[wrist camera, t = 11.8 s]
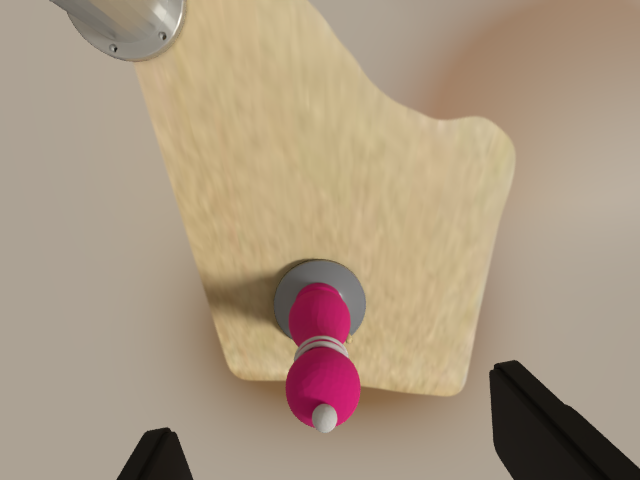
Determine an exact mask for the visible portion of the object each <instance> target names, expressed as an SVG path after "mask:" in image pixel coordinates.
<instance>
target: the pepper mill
mask: <svg viewBox="0 0 640 480" xmlns="http://www.w3.org/2000/svg"><path fill="white" fill-rule="evenodd" d="M350 325H351V321H350V313H349V309H348V307H347V305H346V303H345V302H344V301H343V300H342V298H341V295H340V294H339V292H338V291H337V290H336V289H335V288H334V287H332V286H331V285H328V284H325V283H313V284H309V285H307V286H306V287H304V288H303V289H302V290H301V291H300V292H299V293H298V295H297V297H296V299H295V302H294V304H293V305H292V307H291V310H290V312H289V330H290V333H291V336H292V338H293V340H294V342H295V343H296V345H297V346H298V347H299V348H298V349H297V351H296V353H295V357H294V363H293V365H292V366H291V368H290V370H289V372H288V375H287V379H286V397H287V401H288V404H289V406H290V409H291V411H292V412H293V414H294V415H295V416H296V417H297V418H298V419H299V420H300V421H301V422H303V423H305V424H306V425H308V426H311V427H314V428H316V429H317V430H318V431H320V432H322V433H327V432H330V431H331V430H332V429H334V427H336V426H338V425H340V424H342V423H343V422H345V421H346V420H347V419H348V418H349V417H350V416H351V415H352V413H353V412H354V410H355V409H356V407H357V404H358V401H359V398H360V379H359V375H358V372H357V370H356V368H355V366H354V364H353V363H352V362H351V361H350V359H349V355H348V352H347V350H346V348H345V347H344V345H343V343H344V342H345V340H346V338H347V336H348V334H349V330H350Z"/></svg>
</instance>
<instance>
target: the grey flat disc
mask: <svg viewBox="0 0 640 480" xmlns="http://www.w3.org/2000/svg"><path fill="white" fill-rule="evenodd" d="M313 283H325V284H328V285H331V286H332V287H334V288H335V289H336V290H337V291H338V292H339V294H340V295H341V298H342V300H343V301H344V302H345V303H346V305H347V307H348V309H349V313H350V321H351V325H350V330H349V334H348V336H347V338H346V343H348V344H350V343H351V342H352V338H351V336H352V335H353V334H354V333H355V331H356V330H357V329H358V328H359V326H360V324H361V323H362V320H363V318H364V314H365V309H366V299H365V294H364V291H363V288H362V286H361V284H360V282H359V280H358V279H357V277H356V276H355V275H354V273H353V272H351V271H350V270H349V269H348V268H347V267H345V266H344V265H342V264H340V263H337V262H334V261H331V260H324V259H315V260H309V261H306V262H303V263H301V264H298V265H297V266H295V267H293V268H292V269H291V270H290V271H288V272H287V273H286V274H285V276H284V277H283V278H282V280H281V281H280V283H279V285H278V288H277V290H276V294H275V298H274V312H275V317H276V320H277V322H278V324H279V326H280V327H281V329H282V330H283V332H284V333H285V334H286V335H287V336H289V337H290V338H291V339H292V340H293V338H292V336H291V333H290V330H289V312H290V310H291V307H292V305H293V304H294V302H295V299H296V297H297V295H298V293H299V292H300V291H301V290H302V289H303V288H304V287H306V286H307V285H309V284H313Z"/></svg>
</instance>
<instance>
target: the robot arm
mask: <svg viewBox="0 0 640 480" xmlns="http://www.w3.org/2000/svg"><path fill="white" fill-rule="evenodd" d="M50 1H52V2H53V3H55V4H56V5H58V6H59V7H61V8H62V9H64V10H65V11H67V14H68V16H69V18H70V19H71V21H72V23H73V25H74V26H75V28H76V29H77V30H78V31H79V33H80V34H81V35H82V36H83V37H84V39H86V40H87V41H88V42H89V43H90V44H91V45H93V46H94V47H96V48H97V49H99V50H100V51H102V52H104V53H106V54H108V55H110V56H112V57H114V58H117V59H120V60H124V61H134V62H138V61H145V60H149V59H152V58H154V57H157V56H159V55H160V54H162V53H163V52H165V51H166V50H167V49H168V48H169V47H170V46H171V45H172V44H173V43H174V42H175V40H176V38H177V37H178V35H179V34H180V31H181V29H182V26H183V24H184V19H185V14H186V0H50ZM165 37H166V39H165V40H164V38H165ZM116 50H117V52H116ZM489 375H490V376H489V378H490V393H491V410H492V426H493V442H494V446H495V450H496V452H497V454H498V456H499V458H500V459H501V461H502V463H503V464H504V466H505V467H506V469H507V470H508V472H509V473H510V475H511V476H512V478H513V479H514V480H640V469H639V468H638V467H637V466H636V465H635V464H634V463H633V462H632V461H631V460H630V459H629V458H628V457H626V456H625V455H624V454H623V453H622V452H621V451H620V450H619V449H618V448H616V447H615V446H614V445H613V444H612V443H611V442H610V441H609V440H608V439H607V438H606V437H604V436H603V435H602V434H601V433H600V432H599V431H598V430H596V428H595V427H593V426H592V425H591V424H590V423H589V422H588V421H587V420H586V419H585V418H583V416H581V415H580V414H579V413H578V412H577V411H576V410H574V409H573V408H572V407H570V406H568V405H565V404H564V403H563V402H562V401H560V400H559V399H558V398H557V397H556V396H555V395H554V394H553V393H552V392H551V391H550V390H548V388H546V387H545V386H544V385H543V384H542V383H541V382H540V381H539V380H538V379H537V378H536V377H534V376H533V375H532V374H531V373H530V372H529V371H528V370H527V369H526V368H525V367H524V366H523V365H522V364H521V363H519V362H518V361H515V360H512V361H507V362H502V363H497V364H495V365H494V370H491V371H490V372H489ZM117 480H193V478H192V475H191V472H190V469H189V466H188V464H187V461H186V458H185V455H184V453H183V450H182V448H181V445H180V442H179V439H178V437H177V434H176V433H175V432H171V430H170V429H169V428H160V429H155V430H150V431H147V432H145V433H144V435H143V436H142V438H141V440H140V441H139V443H138V444H137V446H136V448H135V449H134V451H133V453H132V455H131V456H130V458H129V459H128V461H127V463H126V465H125V466H124V468H123V470H122V471H121V473H120V475H119V476H118V478H117Z"/></svg>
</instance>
